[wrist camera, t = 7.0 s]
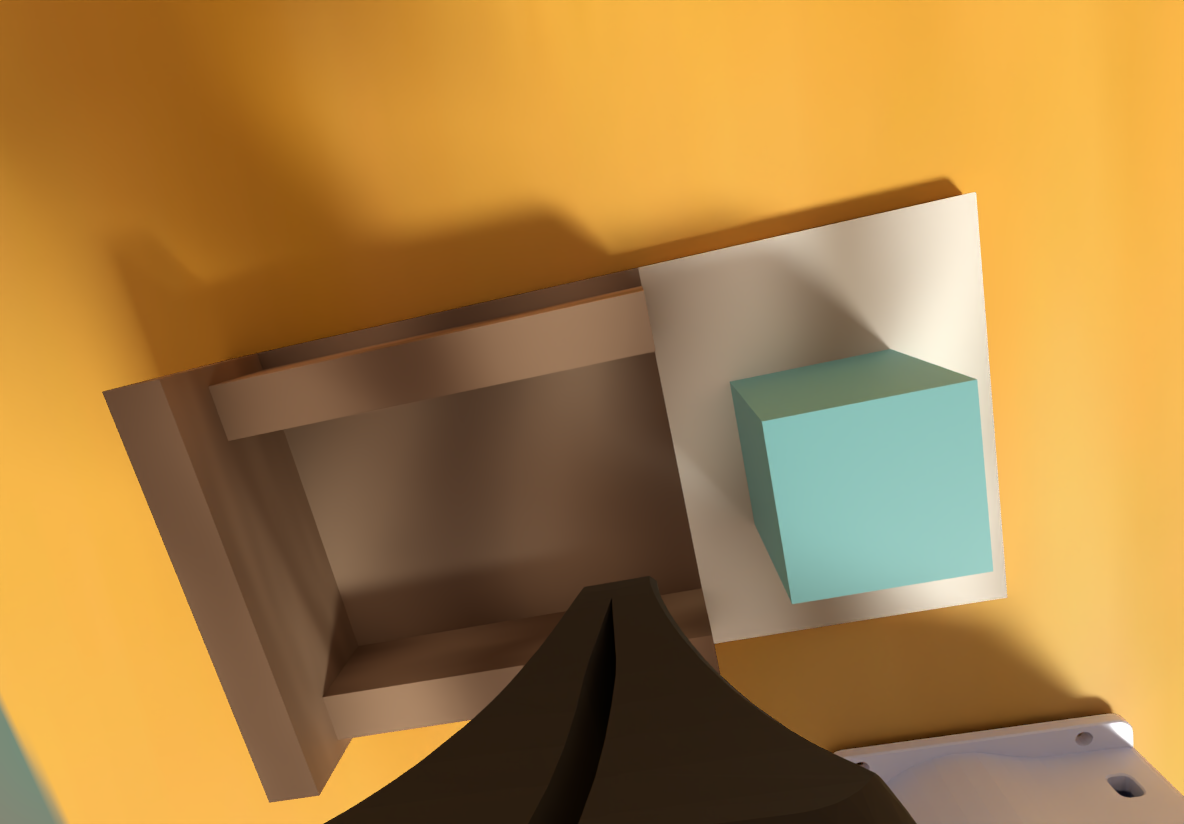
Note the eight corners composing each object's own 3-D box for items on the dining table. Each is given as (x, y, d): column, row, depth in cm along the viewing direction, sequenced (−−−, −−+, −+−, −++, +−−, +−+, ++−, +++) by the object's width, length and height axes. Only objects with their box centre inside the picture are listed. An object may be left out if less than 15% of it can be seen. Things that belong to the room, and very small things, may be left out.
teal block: (890, 348, 17) (977, 379, 13) (907, 497, 18) (993, 571, 14) (729, 381, 18) (761, 421, 14) (754, 524, 19) (792, 604, 15)
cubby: (964, 194, 17) (1083, 171, 12) (996, 587, 20) (1103, 684, 15) (223, 360, 19) (102, 391, 15) (342, 691, 22) (269, 802, 18)
